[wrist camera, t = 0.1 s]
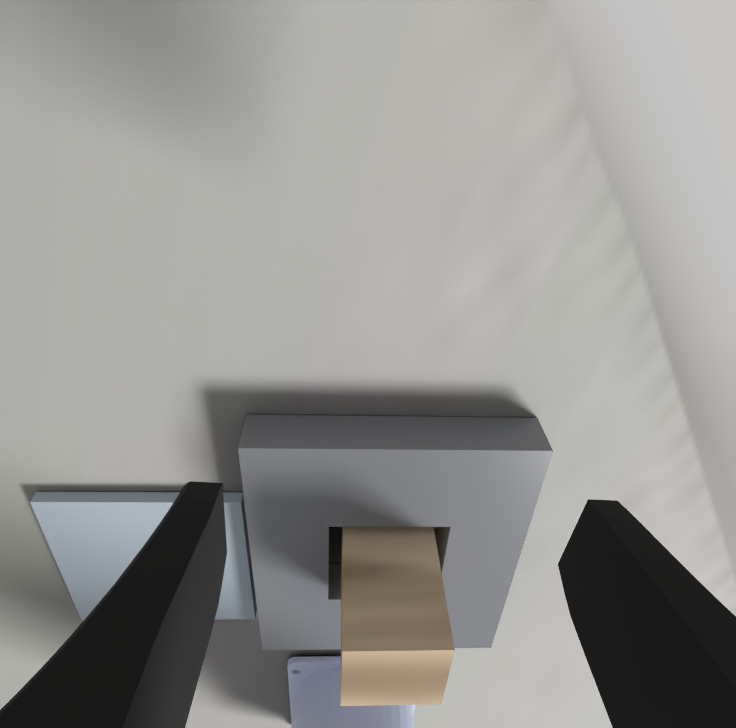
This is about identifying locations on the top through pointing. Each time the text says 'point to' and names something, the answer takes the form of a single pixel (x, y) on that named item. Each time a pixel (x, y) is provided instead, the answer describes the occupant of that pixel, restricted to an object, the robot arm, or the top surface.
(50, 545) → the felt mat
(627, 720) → the robot arm
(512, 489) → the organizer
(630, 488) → the top surface
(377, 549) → the oak block
